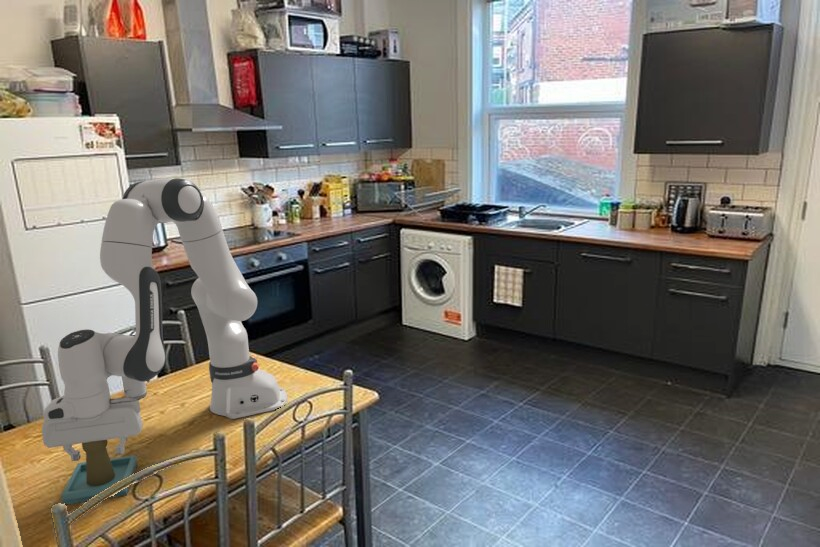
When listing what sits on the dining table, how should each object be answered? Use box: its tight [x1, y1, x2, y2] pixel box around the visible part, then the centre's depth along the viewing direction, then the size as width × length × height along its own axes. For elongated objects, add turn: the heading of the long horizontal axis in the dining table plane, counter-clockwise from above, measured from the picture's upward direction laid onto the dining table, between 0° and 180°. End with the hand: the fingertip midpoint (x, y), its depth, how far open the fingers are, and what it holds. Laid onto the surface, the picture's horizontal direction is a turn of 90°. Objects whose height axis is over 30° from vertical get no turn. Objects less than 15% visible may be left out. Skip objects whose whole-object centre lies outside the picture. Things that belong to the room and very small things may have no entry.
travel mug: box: [121, 334, 148, 401], centre depth 181 cm, size 6×7×20 cm
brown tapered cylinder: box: [81, 440, 115, 486], centre depth 137 cm, size 6×6×11 cm
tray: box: [61, 454, 138, 505], centre depth 139 cm, size 13×13×3 cm
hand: (98, 456), depth 137 cm, fingers open, 8 cm apart
